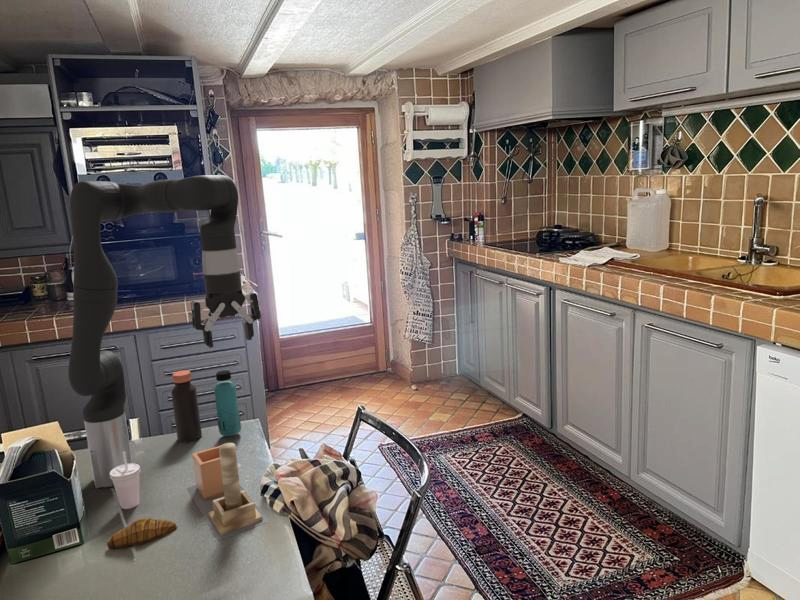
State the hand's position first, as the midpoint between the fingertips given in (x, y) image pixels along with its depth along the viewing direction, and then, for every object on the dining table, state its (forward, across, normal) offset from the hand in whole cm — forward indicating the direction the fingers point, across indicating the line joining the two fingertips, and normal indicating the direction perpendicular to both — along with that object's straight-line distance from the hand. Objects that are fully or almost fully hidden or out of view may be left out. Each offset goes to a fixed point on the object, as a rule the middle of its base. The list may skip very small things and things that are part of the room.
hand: (229, 343), depth 127 cm
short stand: (+37, +5, +7) cm, 38 cm away
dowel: (+36, +5, +7) cm, 37 cm away
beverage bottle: (+38, -8, -38) cm, 55 cm away
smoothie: (+38, +23, -14) cm, 47 cm away
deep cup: (+37, +5, -8) cm, 38 cm away
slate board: (+38, +5, 0) cm, 38 cm away
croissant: (+38, +23, +2) cm, 45 cm away
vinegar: (+38, +2, -45) cm, 59 cm away
